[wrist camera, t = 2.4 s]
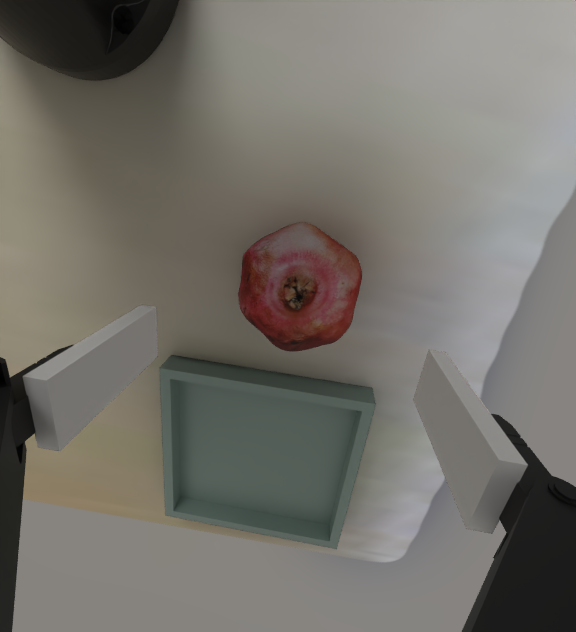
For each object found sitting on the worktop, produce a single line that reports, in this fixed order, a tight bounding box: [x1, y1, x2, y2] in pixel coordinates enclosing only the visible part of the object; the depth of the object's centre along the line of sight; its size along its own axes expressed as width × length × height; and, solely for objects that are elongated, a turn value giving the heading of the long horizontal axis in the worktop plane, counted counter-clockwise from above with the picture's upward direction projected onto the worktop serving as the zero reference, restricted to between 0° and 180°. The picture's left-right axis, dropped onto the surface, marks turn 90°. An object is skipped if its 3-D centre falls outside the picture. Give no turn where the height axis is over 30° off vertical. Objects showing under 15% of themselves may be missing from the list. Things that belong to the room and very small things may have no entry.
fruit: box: [238, 222, 362, 351], centre depth 23 cm, size 9×10×10 cm
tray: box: [160, 355, 376, 549], centre depth 34 cm, size 20×20×2 cm
